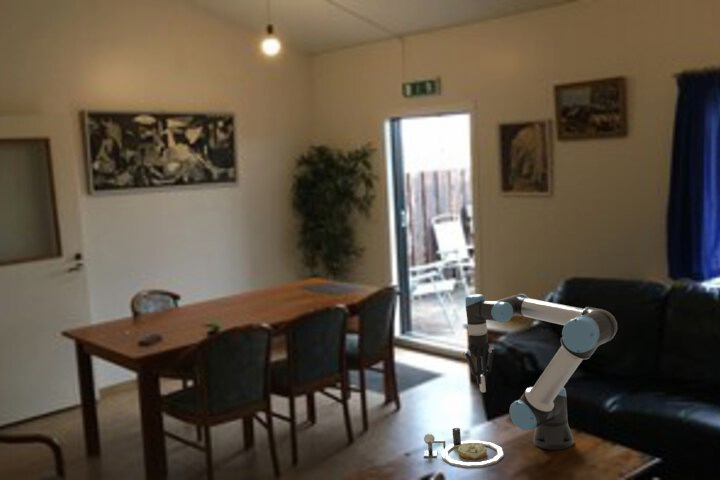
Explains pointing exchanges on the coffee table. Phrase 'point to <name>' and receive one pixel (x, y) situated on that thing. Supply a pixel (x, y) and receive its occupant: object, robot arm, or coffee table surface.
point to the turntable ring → (458, 443)
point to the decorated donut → (472, 451)
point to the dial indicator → (430, 440)
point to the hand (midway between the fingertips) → (482, 391)
